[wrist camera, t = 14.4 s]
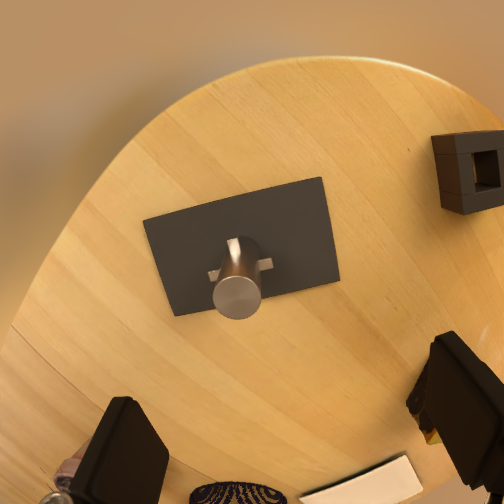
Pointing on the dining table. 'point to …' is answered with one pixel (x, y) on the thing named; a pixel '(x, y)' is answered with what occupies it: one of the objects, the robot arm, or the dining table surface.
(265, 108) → the dining table surface
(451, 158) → the dark square ring block
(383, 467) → the plate
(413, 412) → the candle
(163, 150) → the dining table surface
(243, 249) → the bronze metal rod
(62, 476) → the potted plant
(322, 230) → the mat
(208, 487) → the decorative bowl
